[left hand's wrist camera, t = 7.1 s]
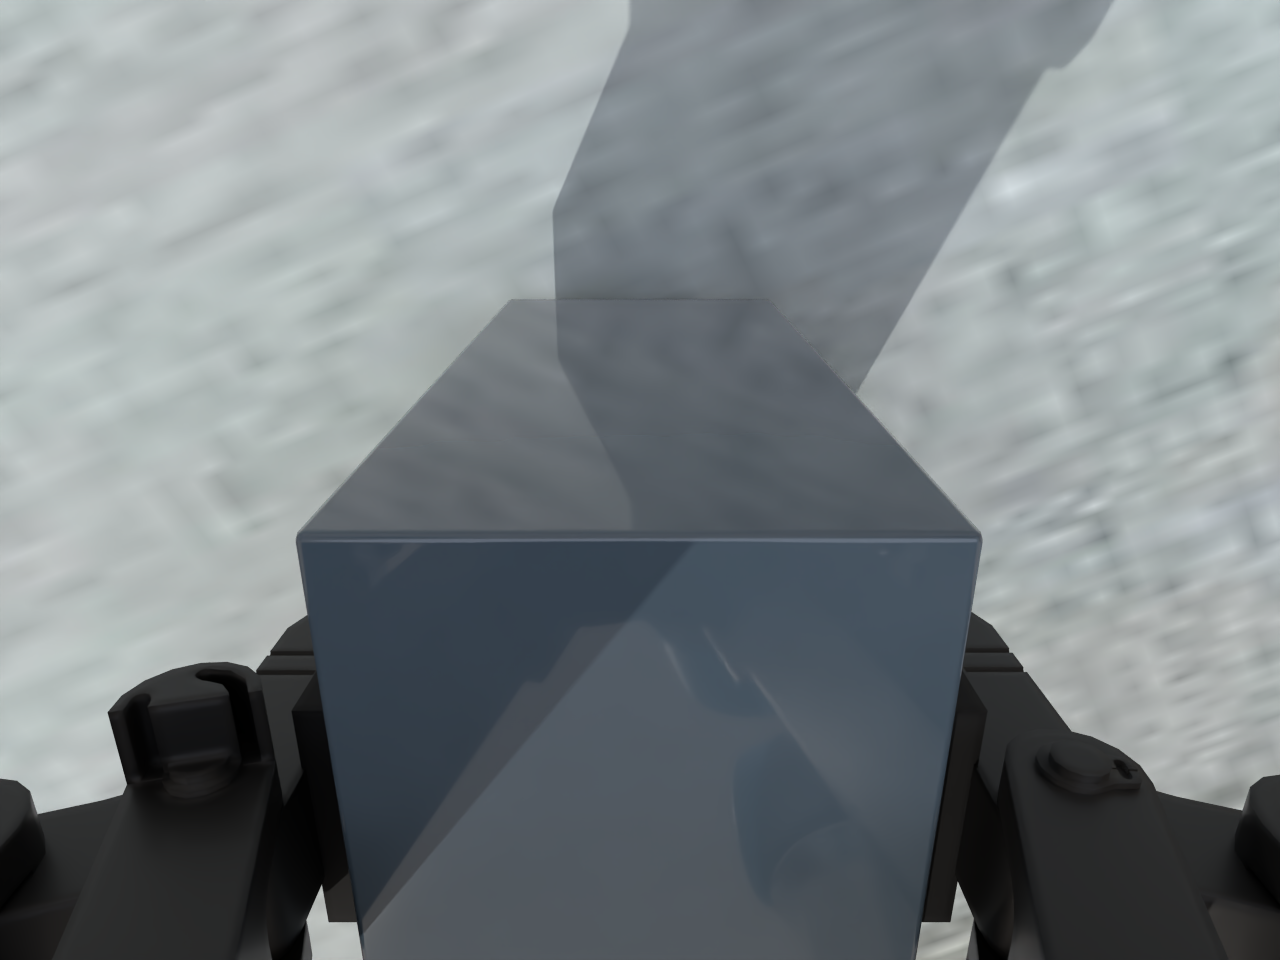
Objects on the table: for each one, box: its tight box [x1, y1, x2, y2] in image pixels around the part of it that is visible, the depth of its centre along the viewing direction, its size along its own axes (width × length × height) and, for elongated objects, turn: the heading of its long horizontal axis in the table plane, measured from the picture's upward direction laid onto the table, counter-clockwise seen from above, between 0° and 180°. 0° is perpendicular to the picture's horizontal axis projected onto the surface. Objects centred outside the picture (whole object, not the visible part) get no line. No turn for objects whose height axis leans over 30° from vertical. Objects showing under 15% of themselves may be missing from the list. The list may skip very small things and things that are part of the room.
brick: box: [296, 299, 983, 960], centre depth 13 cm, size 7×5×11 cm
